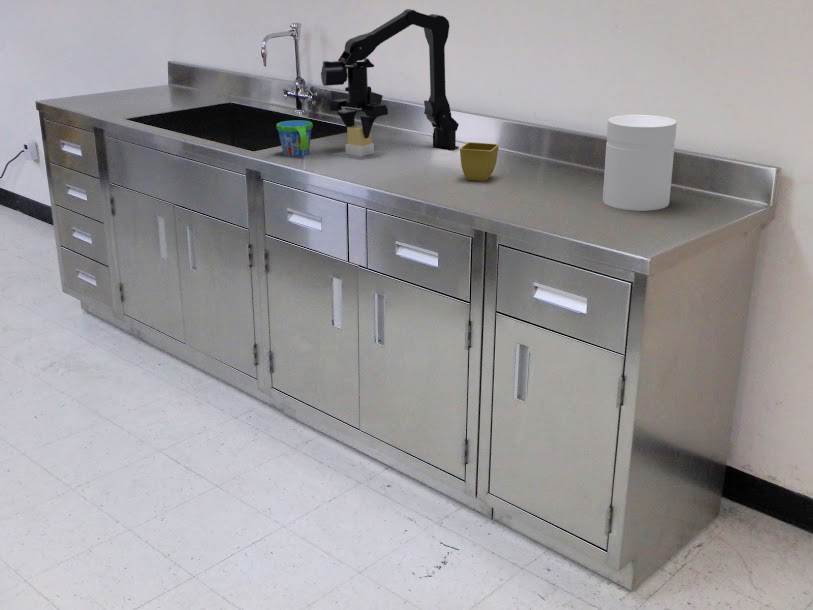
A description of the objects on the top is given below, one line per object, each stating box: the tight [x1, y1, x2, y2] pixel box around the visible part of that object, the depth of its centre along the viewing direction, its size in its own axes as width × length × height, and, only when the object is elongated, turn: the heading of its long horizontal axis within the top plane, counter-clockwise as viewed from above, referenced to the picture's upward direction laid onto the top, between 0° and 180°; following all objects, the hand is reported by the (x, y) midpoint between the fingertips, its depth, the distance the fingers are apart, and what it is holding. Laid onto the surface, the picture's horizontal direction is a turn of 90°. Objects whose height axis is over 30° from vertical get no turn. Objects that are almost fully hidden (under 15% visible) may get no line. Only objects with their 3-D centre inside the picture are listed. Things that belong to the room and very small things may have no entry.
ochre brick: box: [346, 124, 373, 146], centre depth 280 cm, size 5×5×5 cm
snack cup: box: [276, 119, 314, 158], centre depth 282 cm, size 16×10×10 cm
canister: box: [602, 114, 678, 212], centre depth 229 cm, size 16×16×20 cm
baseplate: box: [331, 149, 387, 161], centre depth 283 cm, size 12×12×1 cm
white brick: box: [344, 142, 375, 157], centre depth 282 cm, size 6×6×3 cm
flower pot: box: [459, 141, 499, 182], centre depth 255 cm, size 9×9×9 cm
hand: (359, 136), depth 281 cm, fingers open, 6 cm apart
